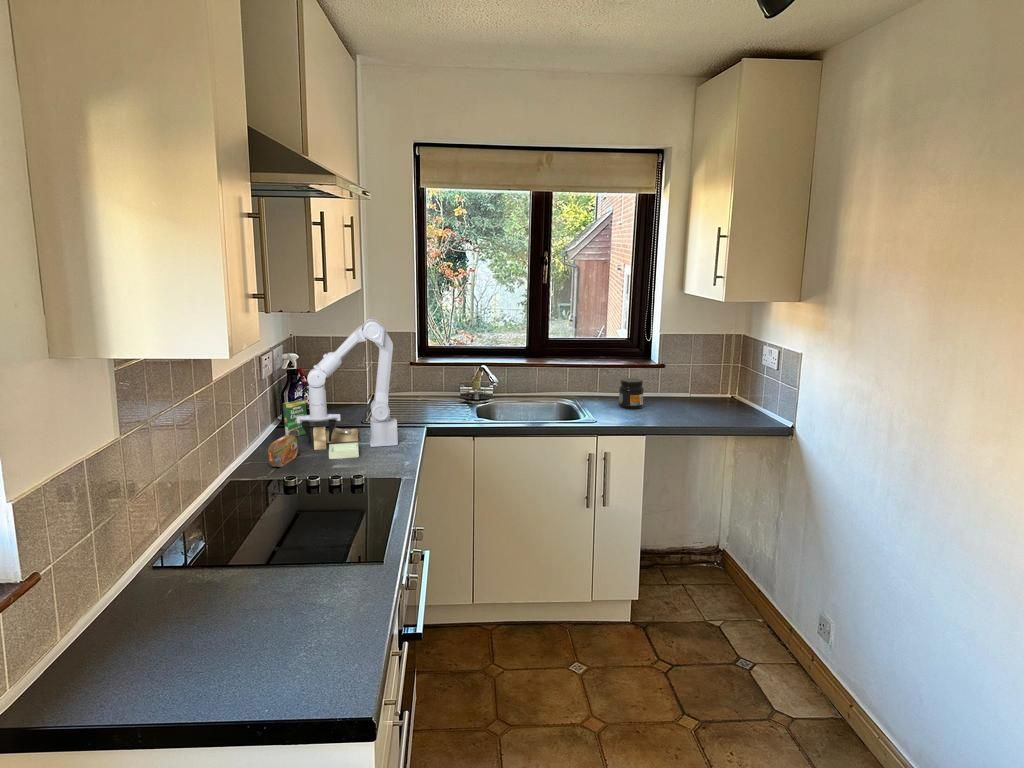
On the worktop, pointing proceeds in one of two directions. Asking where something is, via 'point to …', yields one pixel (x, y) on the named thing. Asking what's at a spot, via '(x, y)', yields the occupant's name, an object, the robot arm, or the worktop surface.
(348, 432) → the crank
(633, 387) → the supplement container
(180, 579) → the worktop surface
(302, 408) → the green cardboard box
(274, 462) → the tin
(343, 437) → the crank base
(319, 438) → the block
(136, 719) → the worktop surface
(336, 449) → the tray
